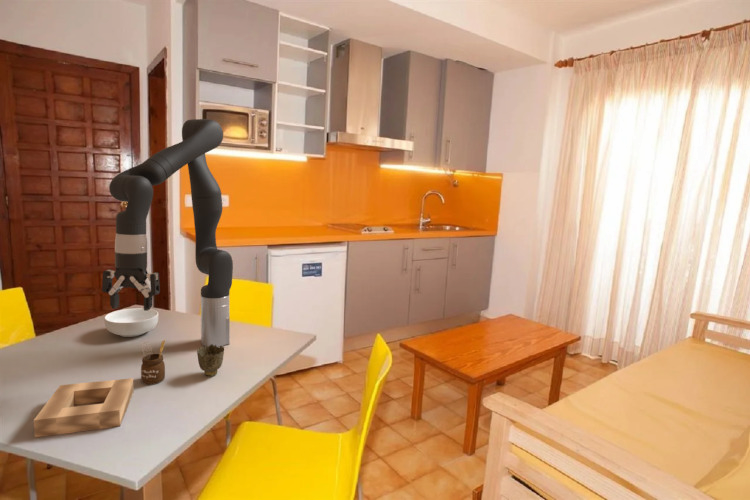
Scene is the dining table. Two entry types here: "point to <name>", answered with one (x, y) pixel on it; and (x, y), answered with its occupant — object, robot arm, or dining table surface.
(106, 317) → the cereal bowl
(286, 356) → the dining table surface
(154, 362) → the utensil holder
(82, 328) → the dining table surface
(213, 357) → the cup
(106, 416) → the oak socket block
